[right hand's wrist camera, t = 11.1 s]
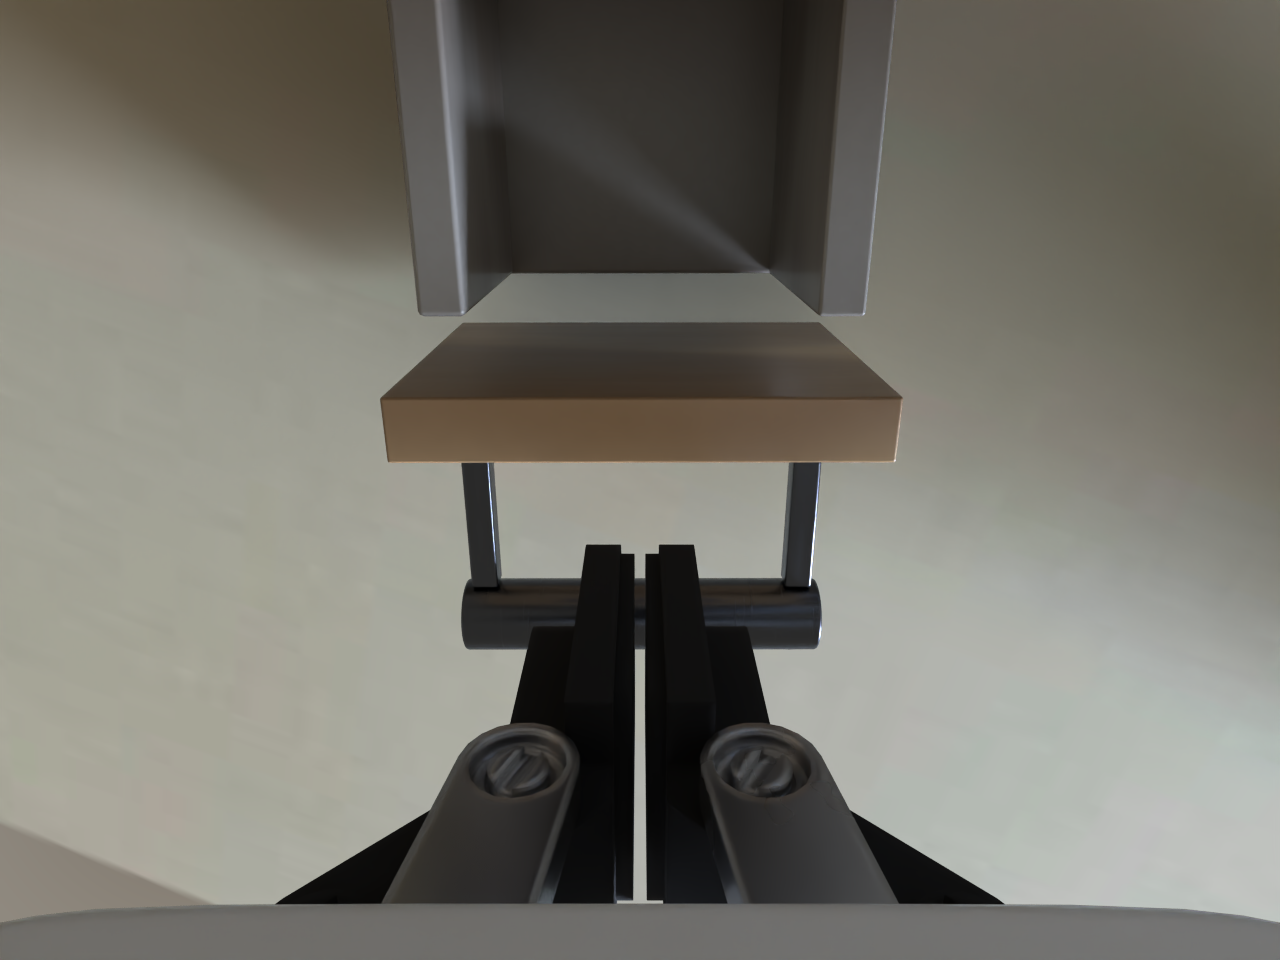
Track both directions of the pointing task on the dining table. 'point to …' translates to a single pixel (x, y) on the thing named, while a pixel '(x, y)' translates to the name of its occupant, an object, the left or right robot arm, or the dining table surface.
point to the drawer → (641, 258)
